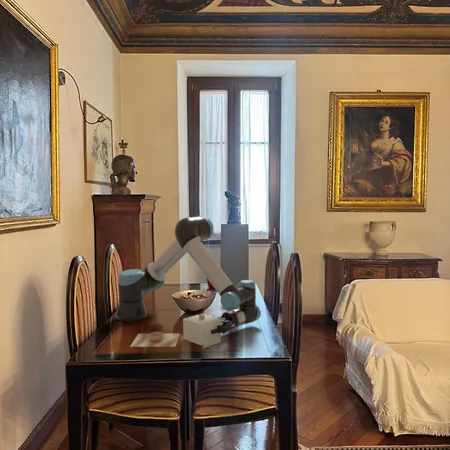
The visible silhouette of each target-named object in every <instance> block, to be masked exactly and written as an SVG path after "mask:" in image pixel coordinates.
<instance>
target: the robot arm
mask: <svg viewBox="0 0 450 450" xmlns="http://www.w3.org/2000/svg"><path fill="white" fill-rule="evenodd" d="M213 234H214V225H213V222H212V221H211V219H210V218H208V217H207V216H203V215H198V216H191V217H183V218H182V219H179V221H178V222H177V223H176V225H175V229H174V236H175V240H174V241H173V242H172V243H171V244H170V245H169V246H168V247H167V248H166V249H165V250H164V252H163V253H162V254H160V256H159V257H158V258H157V259H156V260H155V261H153V262H149V263H148V264H147V265H146V267H144V268H143V269H142V270H141V269H139V268H133V269H131V268H130V269H127V270H123V271H122V272H120V273H119V274H118V279H117V284H118V285H117V286H118V306H117V308H116V312H115V319H116V320H117V321H119V322H138V321H142V320H144V319H146V318H147V317H148V314H147V313H148V312H147V309H146V306H145V303H144V296H143V294H146V293H148V292H154V291H157V290H159V289H161V288H162V287H163V286H164V284H165V281H166V278H167V274H168V273H169V272H170V271H171V269H173V268H174V267H175V265H177V264H178V263H179V261H181V259H183V257H185V255H186V254H189V256H190V258H192V260H193V261H194V262H195V264H196V265H197V266H198V268H199V269H200V270H201V272H202V273H203V275H204V276H205V277H207V278H206V280H207V279H208V280H209V281H210V283H211V284H212V285H213V287H214V288H215V289H214V290H216V293H218V295H219V296H220V304H221V306H222V308H223V309H225V310H228V311H225V312H223V313H222V314H221V316H217V318H220V319H221V325H217V327H216V326H215V327H212V328H209V329H205V330H204V337H207V336H210V335H213V334H216V333H221V335H225V334H226V333H228V332H229V331H231V330H233V329H235V328H239V327H240V326H243V325H247V324H250V323H253V322H256V321H258V320H259V319H260V318H261V315H262V311H261V309H260V306H259V305H257V304H256V303H257V302H256V300H257V298H256V293H257V292H256V291H257V288H256V287H257V286H256V282H255V281H254V280H251V279H244V280H240V281H239V282H238V288H237V289H236V287H237V286H235V285H234V283H233V282H232V281H231V280H230V278H229V277H228V275H227V274H226V273H225V272H224V270H223V269H222V267H221V266H220V265H219V263H218V262H217V261H216V259H214V257H213V256H212V254H211V253H210V251H209V250H208V249H207V248H206V247H205V245H204V244H203V243H202V242H204V241H207V240H209V239H211V238H212V236H213ZM213 316H214V317H216V316H215V315H213Z"/></svg>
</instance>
